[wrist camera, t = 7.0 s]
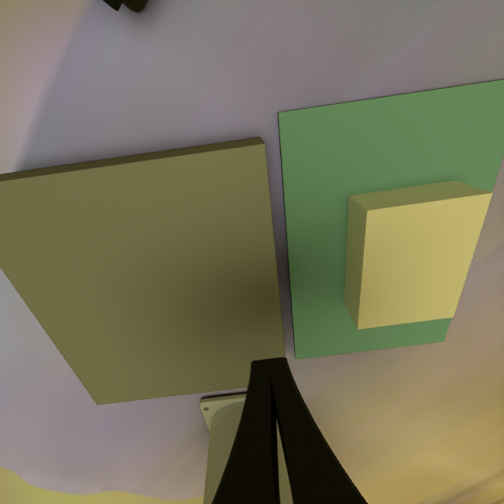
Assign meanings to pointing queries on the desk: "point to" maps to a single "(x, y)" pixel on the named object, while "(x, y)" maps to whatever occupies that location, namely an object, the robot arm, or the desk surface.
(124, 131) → the desk surface
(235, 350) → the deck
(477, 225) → the tile
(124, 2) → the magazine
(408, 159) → the mat
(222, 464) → the robot arm
